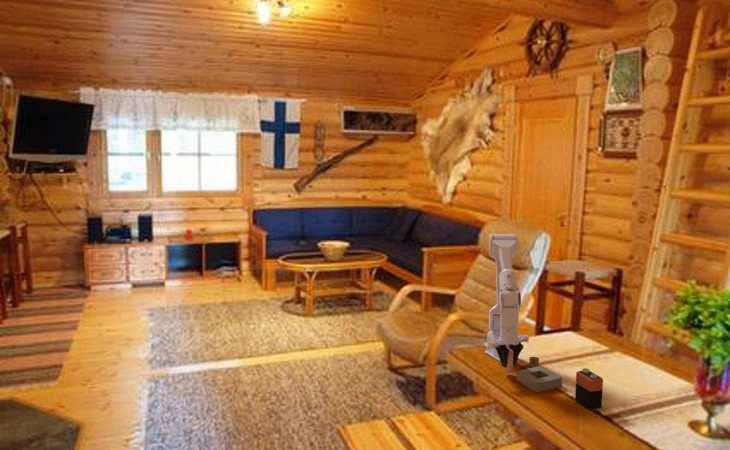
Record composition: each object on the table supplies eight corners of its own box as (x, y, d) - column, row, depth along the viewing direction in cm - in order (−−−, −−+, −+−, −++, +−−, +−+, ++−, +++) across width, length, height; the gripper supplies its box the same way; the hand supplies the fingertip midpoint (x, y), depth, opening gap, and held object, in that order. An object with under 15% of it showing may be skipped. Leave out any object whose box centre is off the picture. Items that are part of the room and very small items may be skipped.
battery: (586, 397, 167) (588, 366, 165) (602, 408, 160) (604, 375, 159) (574, 400, 166) (575, 368, 164) (589, 410, 159) (591, 377, 158)
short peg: (527, 368, 188) (527, 357, 188) (534, 367, 189) (534, 356, 189) (533, 372, 185) (533, 360, 185) (540, 370, 187) (540, 359, 186)
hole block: (515, 379, 180) (516, 371, 179) (540, 374, 184) (540, 365, 183) (536, 392, 171) (536, 383, 170) (562, 386, 174) (562, 377, 174)
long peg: (501, 369, 184) (502, 349, 183) (509, 368, 185) (509, 348, 184) (507, 373, 181) (507, 353, 180) (514, 371, 182) (515, 351, 181)
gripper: (498, 333, 174) (497, 373, 177) (535, 326, 180) (534, 365, 182) (485, 326, 181) (484, 365, 183) (521, 319, 186) (520, 358, 188)
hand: (508, 365), depth 183 cm, fingers closed on long peg, 3 cm apart
